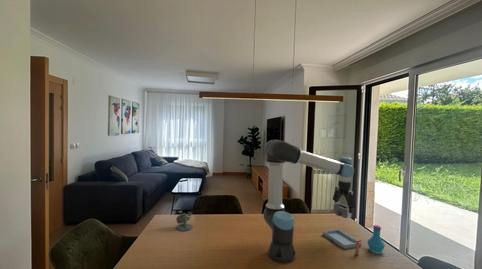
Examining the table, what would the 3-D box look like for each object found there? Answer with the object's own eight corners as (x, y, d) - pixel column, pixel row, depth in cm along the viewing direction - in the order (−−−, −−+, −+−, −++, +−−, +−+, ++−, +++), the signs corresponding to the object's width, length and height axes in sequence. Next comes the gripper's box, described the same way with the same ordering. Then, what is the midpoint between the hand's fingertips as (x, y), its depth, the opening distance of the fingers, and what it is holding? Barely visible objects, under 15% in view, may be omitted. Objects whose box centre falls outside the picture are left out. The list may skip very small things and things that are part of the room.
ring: (352, 217, 155) (352, 208, 154) (342, 218, 152) (343, 209, 152) (340, 211, 164) (341, 203, 164) (331, 212, 161) (332, 204, 161)
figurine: (186, 232, 160) (186, 214, 160) (172, 229, 164) (173, 211, 164) (195, 226, 170) (195, 209, 169) (182, 223, 174) (182, 207, 173)
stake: (356, 255, 140) (357, 241, 140) (353, 254, 142) (354, 239, 142) (361, 254, 142) (362, 240, 141) (358, 253, 143) (359, 238, 143)
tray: (344, 249, 147) (344, 245, 147) (322, 234, 166) (323, 231, 166) (360, 246, 152) (361, 242, 152) (337, 232, 171) (338, 229, 170)
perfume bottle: (384, 256, 141) (385, 231, 140) (366, 251, 146) (367, 226, 145) (384, 249, 149) (386, 225, 148) (367, 245, 154) (369, 222, 153)
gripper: (363, 184, 148) (361, 220, 149) (336, 176, 169) (335, 208, 170) (353, 185, 146) (351, 221, 146) (328, 177, 167) (326, 209, 168)
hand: (342, 214), depth 158 cm, fingers closed on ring, 10 cm apart
